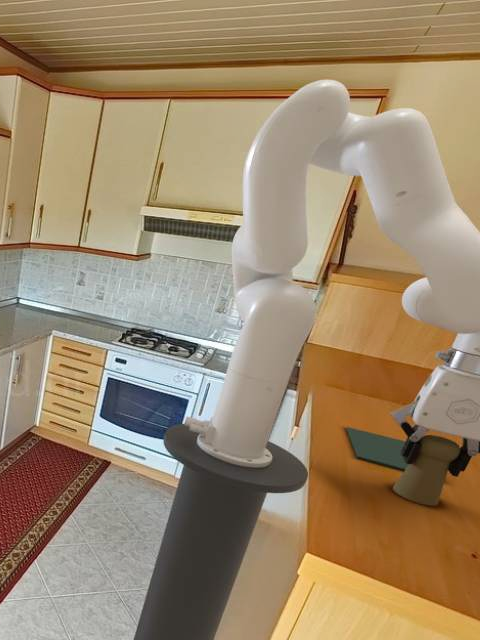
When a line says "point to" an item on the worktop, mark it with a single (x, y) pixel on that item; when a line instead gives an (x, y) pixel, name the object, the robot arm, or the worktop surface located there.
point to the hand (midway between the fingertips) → (429, 465)
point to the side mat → (377, 448)
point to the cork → (427, 470)
